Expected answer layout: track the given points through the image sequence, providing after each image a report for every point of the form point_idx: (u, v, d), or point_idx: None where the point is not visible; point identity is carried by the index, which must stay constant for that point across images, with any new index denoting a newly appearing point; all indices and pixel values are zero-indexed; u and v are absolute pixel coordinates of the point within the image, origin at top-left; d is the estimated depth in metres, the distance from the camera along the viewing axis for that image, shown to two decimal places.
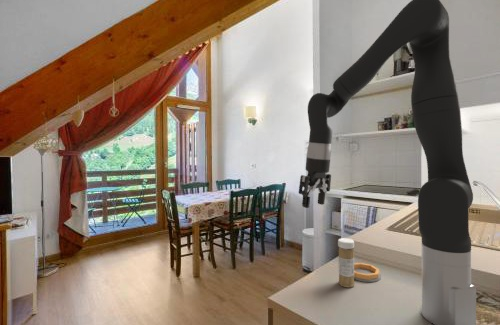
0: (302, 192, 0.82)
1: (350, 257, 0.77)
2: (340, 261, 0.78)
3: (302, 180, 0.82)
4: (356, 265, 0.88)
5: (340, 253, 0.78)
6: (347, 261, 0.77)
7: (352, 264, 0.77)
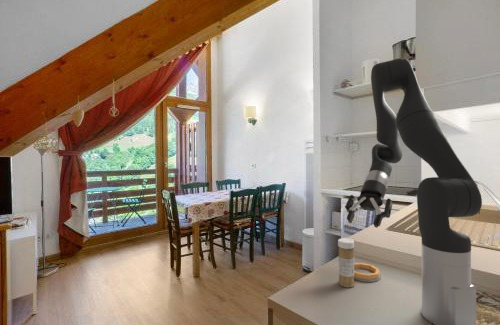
0: None
1: (350, 257, 0.77)
2: (340, 261, 0.78)
3: None
4: (356, 265, 0.88)
5: (340, 253, 0.78)
6: (347, 261, 0.77)
7: (352, 264, 0.77)
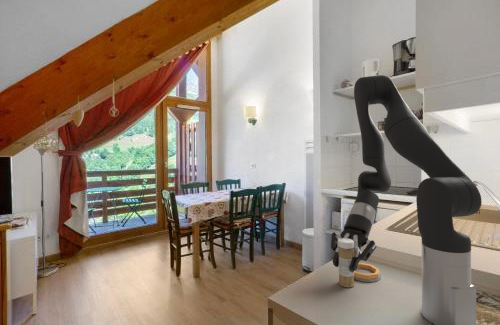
0: None
1: (350, 257, 0.77)
2: (340, 261, 0.78)
3: None
4: None
5: (340, 253, 0.78)
6: (347, 261, 0.77)
7: None
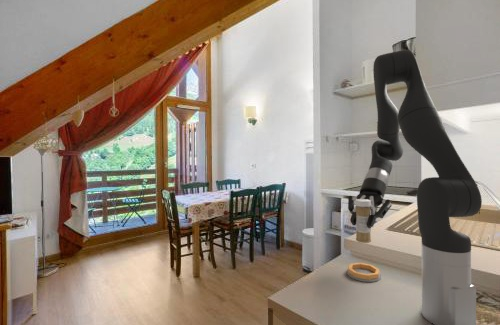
0: None
1: (367, 214, 0.83)
2: (358, 219, 0.84)
3: None
4: (356, 265, 0.88)
5: (357, 212, 0.84)
6: (365, 218, 0.83)
7: None
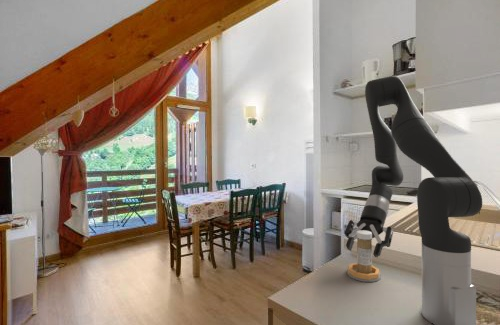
0: None
1: (369, 247, 0.83)
2: (359, 251, 0.84)
3: None
4: (356, 265, 0.88)
5: (359, 244, 0.84)
6: (366, 251, 0.83)
7: (370, 254, 0.83)
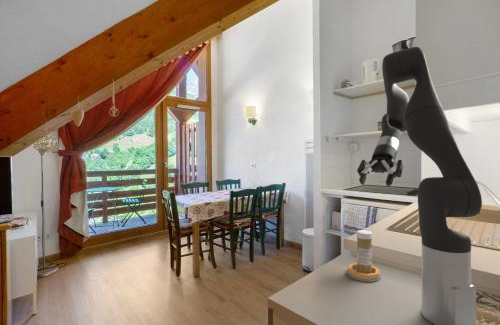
0: None
1: (369, 247, 0.83)
2: (359, 251, 0.84)
3: None
4: (356, 265, 0.88)
5: (359, 243, 0.84)
6: (366, 250, 0.83)
7: (370, 254, 0.83)
